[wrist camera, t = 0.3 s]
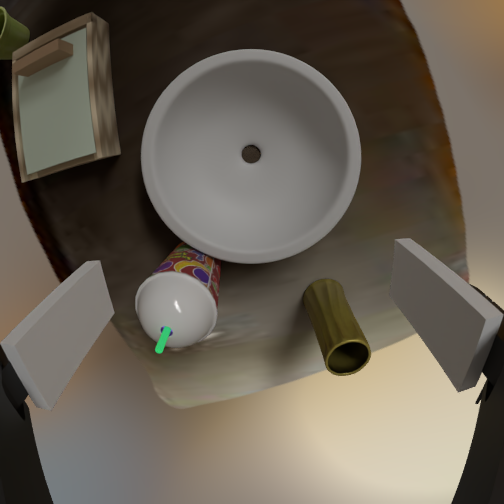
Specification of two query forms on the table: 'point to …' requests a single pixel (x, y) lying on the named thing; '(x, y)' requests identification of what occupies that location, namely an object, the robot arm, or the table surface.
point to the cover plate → (55, 103)
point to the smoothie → (180, 298)
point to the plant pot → (11, 35)
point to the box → (98, 92)
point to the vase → (336, 328)
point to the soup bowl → (257, 174)
